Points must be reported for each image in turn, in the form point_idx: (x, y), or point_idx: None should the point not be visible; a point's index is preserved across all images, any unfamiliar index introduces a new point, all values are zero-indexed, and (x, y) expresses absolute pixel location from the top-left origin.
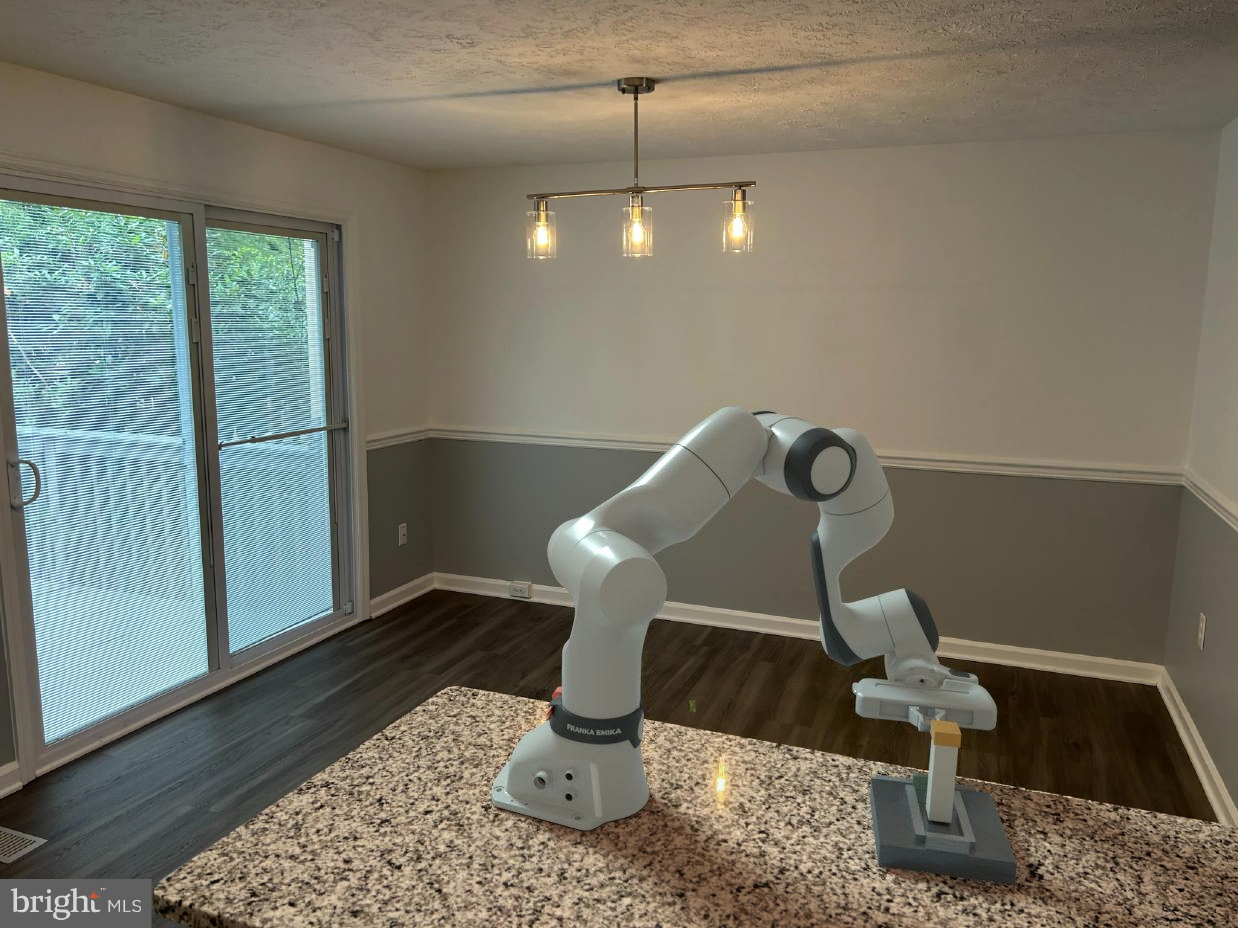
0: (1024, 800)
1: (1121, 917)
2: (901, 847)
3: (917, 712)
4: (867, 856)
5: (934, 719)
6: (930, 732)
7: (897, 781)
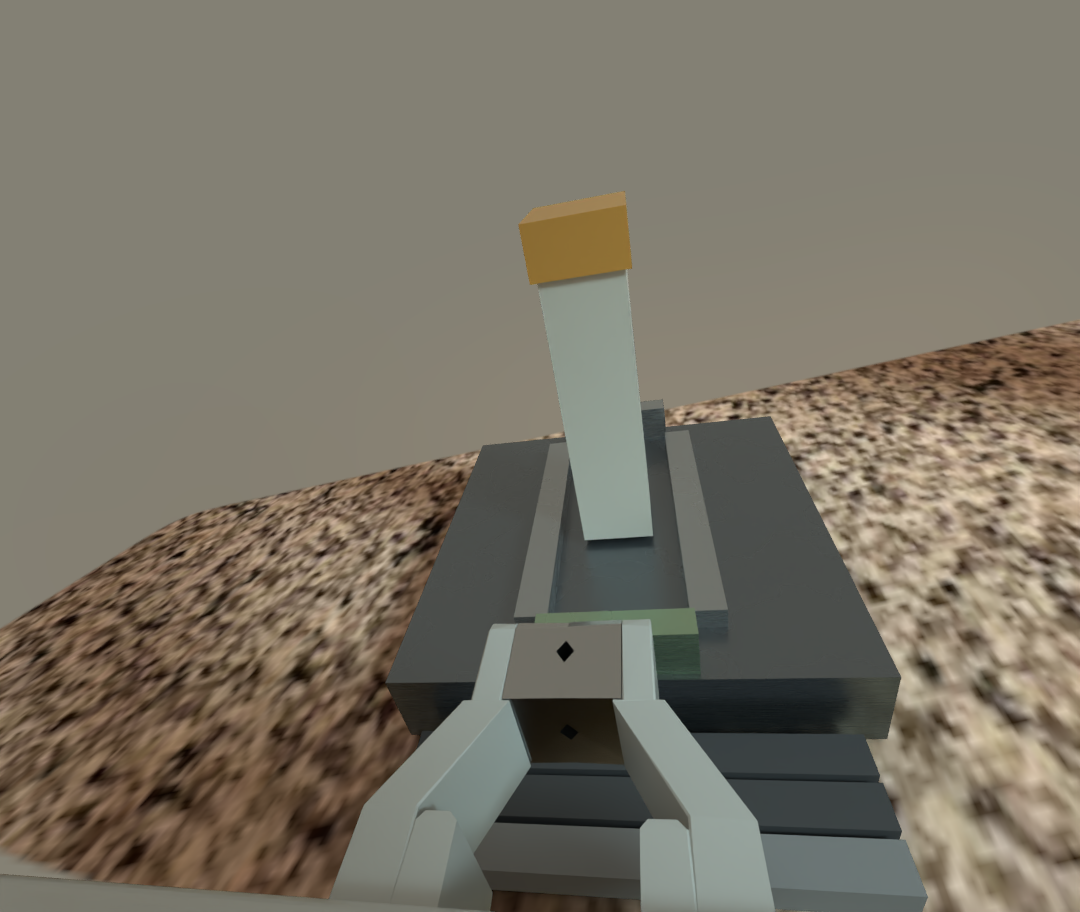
0: (192, 887)
1: (353, 478)
2: (720, 422)
3: (665, 753)
4: None
5: (526, 658)
6: (631, 265)
7: (776, 835)
